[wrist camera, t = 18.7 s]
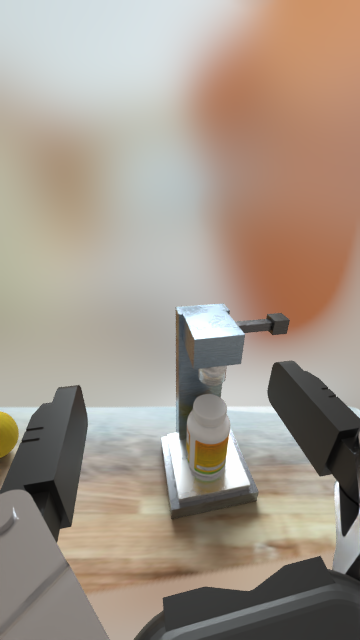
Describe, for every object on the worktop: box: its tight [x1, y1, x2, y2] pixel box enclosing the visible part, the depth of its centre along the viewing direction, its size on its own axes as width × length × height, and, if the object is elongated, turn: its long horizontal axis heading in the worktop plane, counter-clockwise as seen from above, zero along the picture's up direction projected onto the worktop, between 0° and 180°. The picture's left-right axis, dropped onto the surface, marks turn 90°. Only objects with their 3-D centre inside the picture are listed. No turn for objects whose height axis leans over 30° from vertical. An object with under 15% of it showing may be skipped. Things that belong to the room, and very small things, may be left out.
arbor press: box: [161, 304, 290, 519], centre depth 31 cm, size 15×11×23 cm
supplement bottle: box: [186, 394, 230, 476], centre depth 32 cm, size 5×5×10 cm
